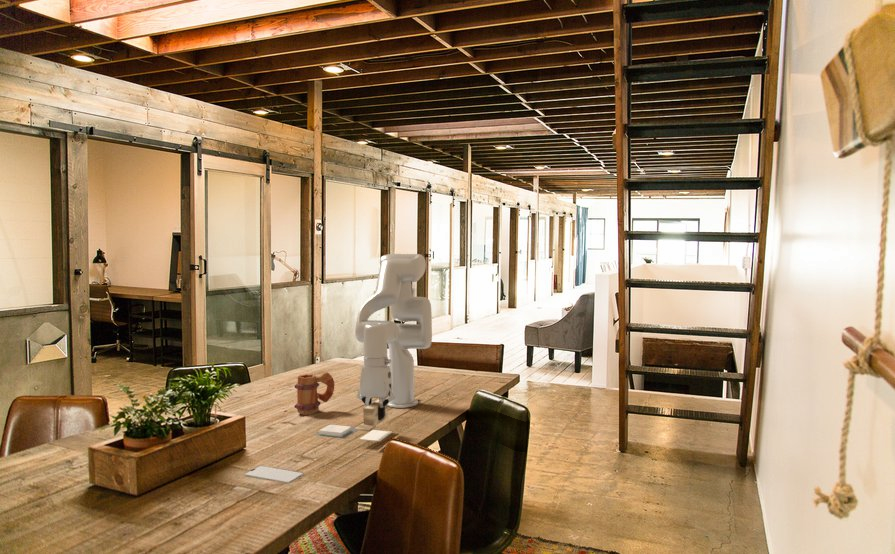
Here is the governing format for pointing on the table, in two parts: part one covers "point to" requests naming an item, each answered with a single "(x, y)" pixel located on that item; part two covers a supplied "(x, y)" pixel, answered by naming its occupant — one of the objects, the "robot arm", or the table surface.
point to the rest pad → (375, 435)
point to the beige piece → (371, 417)
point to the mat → (343, 436)
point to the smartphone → (273, 474)
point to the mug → (312, 392)
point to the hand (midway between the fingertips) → (375, 418)
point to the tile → (335, 430)
